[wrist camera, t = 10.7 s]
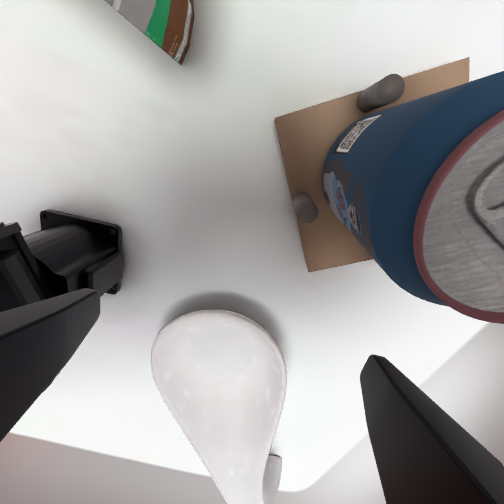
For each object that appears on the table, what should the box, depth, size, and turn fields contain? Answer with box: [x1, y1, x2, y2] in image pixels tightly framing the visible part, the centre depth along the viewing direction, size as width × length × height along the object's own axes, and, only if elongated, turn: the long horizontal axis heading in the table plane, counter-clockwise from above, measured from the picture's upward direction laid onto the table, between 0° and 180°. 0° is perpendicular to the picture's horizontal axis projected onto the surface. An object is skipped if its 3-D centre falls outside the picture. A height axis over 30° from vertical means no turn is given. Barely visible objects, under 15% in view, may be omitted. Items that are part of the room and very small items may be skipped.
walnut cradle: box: [275, 57, 469, 272], centre depth 16 cm, size 11×11×5 cm
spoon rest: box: [151, 310, 287, 504], centre depth 24 cm, size 24×12×7 cm, turn 14°
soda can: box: [322, 71, 504, 324], centre depth 12 cm, size 7×7×12 cm
